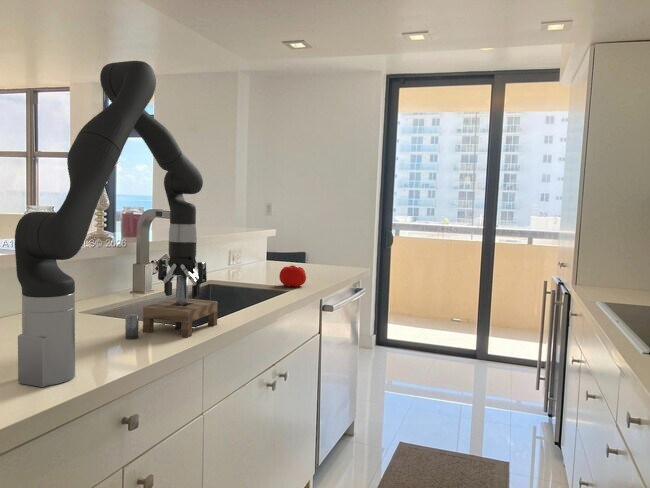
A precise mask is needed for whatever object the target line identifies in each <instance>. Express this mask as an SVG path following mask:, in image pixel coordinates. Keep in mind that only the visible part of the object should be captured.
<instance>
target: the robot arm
mask: <svg viewBox="0 0 650 488" xmlns="http://www.w3.org/2000/svg"><path fill="white" fill-rule="evenodd" d="M99 82H100V85H101V88H102V91H103V93H104V94H105V95H106V97H107V98H108V99H109V101H110V104H109V105H108V106H106V107H105V108H104V109H103V110H102V111H100V112H99V113H98V114H96V115H94V116H93V118H91V119H90V120H89V121H88V122H86V124H85V125H83V127H82V128H81V129H80V130H79V132H78V133H77V136H76V137H75V139H74V141H73V142H72V144H71V147H69V148H70V149H69V150H68V153H67V156H66V157H67V159H66V160H67V161H66V162H67V171H68V177H69V183H70V184H69V189H68V192H67V195H66V196H65V199H64V201H63V203H62V204H61V206H60V208H59V209H58V210H57V211H56V212H54V211H31V212H28V213H25V214H23V216H22V217H20V219H19V220H18V222H17V225H16V227H15V231H14V253H15V254H14V255H15V266H16V267H15V268H16V277H17V280H18V282H19V285H20V287H21V334H18V335H17V379H18V380H17V382H18V384H23V385H28V386H33V387H40V388H44V387H47V386H52V385H58V384H62V383H65V382H68V381H70V380H73V379H74V377H75V376H76V333H75V332H76V323H75V322H76V314H75V313H76V297H75V295H76V292H75V291H76V287H75V286H76V284H75V279H74V278H73V276H71V275H69V274H66V273H65V271H63V270H62V269H61V268H60V267H59V265H58V262H57V261H65V260H70V259H72V258H74V257H75V256H76V255H77V254H79V251H80V250H81V249H82V247H83V245H84V243H85V240H86V237H87V235H88V233H89V230H90V227H91V223H92V220H93V217H94V215H95V211H96V209H97V206H98V204H99V201H100V198H101V197H102V195H103V192H104V190H105V187H106V185H107V183H108V180H109V179H110V176H111V175H112V173H113V171H114V169H115V167H116V165H117V164H118V161H119V159H120V156H121V155H122V152H123V150H124V147H125V146H126V145H125V144H126V143H127V141H128V139H129V138H130V135H131V133H132V131H133V130H134V131H135V132H136V133H137V134H138V135H139V137H140V138H141V139H142V140H143V142H144V143H145V145H146V146H147V148H148V149H149V151H150V152H151V154H152V156H153V158H154V160H155V161H156V163H157V164H158V166H159V167H160V168H161V169H162V170H164V171H165V175H164V179H163V187H164V190H165V195H166V198H167V203H168V205H169V228H168V229H169V231H168V257H169V259H167V258H162V259H161V258H160V259H159V260H158V271H157V279H158V281H162V282H163V284H164V285H163V286H164V287H163V288H164V290H163V293H164V294H165V296H166V297H167V296H168V297H169V296H172V294H173V280H174V278H175V277H177V276H180V275H181V276H187V277H188V280H189V281H190V282H191V284H192V286H191V299H198V298H199V297H200V295H201V294H200V293H201V284H206V283H207V281H208V279H207V277H208V276H207V262H206V261H197V259H196V258H197V239H198V238H197V224H196V223H197V217H196V216H197V209H196V205H195V204H193V203H191V202H188V201H186V200H185V198H184V195H196V194H198V193H200V191H202V188H203V186H204V185H203V184H204V180H203V175H202V174H201V172H200V171H199V169H198V168H197V166H195V165H194V163H193V162H192V161H191V160H190V159H189V158H188V157H187V156H186V155H185V154H184V153H183V151H182V150H181V148H180V146H179V144H178V142H177V140H176V139H175V136H174V135H173V134H172V133H171V132H170V131H169V129H168V128H166V126H164V125H163V124H162V123H161V122H159V121H158V120H156V118H154V117H153V116H152V115H151V114H150V113H149V112H148V111H147V110H146V108H147V107H148V105H149V103H150V102H151V100H152V98H153V96H154V94H155V91H156V86H157V77H156V73H155V71H154V69H153V67H152V66H151V65H150V64H149V63H147V62H145V61H142V60H128V61H127V60H125V61H117V62H115V61H114V62H111V63H107V64H105V65H104V66H103V67H102V68H101V71H100V76H99ZM168 267H169V270H168ZM196 270H197V271H196Z"/></svg>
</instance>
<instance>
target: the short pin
mask: <svg viewBox="0 0 650 488" xmlns="http://www.w3.org/2000/svg"><path fill="white" fill-rule="evenodd" d="M124 319H125V320H124V321H125V326H124V327H125V332H124V333H125V340H137V339H138V338H139V321H140V320H139V314H137V313H129V314H126V315H125V317H124Z"/></svg>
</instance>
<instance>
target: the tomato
mask: <svg viewBox="0 0 650 488" xmlns="http://www.w3.org/2000/svg"><path fill="white" fill-rule="evenodd" d="M278 277H279V281H280V283H281V284H282V285H283V286H285V287H287V286H288V288H293V287H294V288H298V287H300V286H302V285H304V284H305V283H306V281H307V275H306V272H305V269H304V268H303V267H301V266H299V267H298V266H296V265H294V264H293V265H292V264H291V265H288V266H284V267H283V268H281V270H280V272H279V276H278ZM291 286H292V287H291Z"/></svg>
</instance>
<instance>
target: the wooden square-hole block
mask: <svg viewBox="0 0 650 488" xmlns="http://www.w3.org/2000/svg"><path fill="white" fill-rule="evenodd" d="M218 302H219V301H216V300H205V299H198V298H195V299H194V298H188V306H176V297H173V298H170V299H167V300H162V301H159V302H155V303H151V304H148V305H145V306H143V307H142V333H148V334H150V333H153V332H154V331H155V328H154V326H155V325H154V324H155V320H159V321H161V320H162V321H169V322H172V323H173V322H175V321H176V322H181V330H180V331H181V334H180V336H181V338H190V337H192V336H193V322H194V321H196V320H199V319H201V318H204V317H207V326H208V325H209V327H215V326H217V325H218V304H219V303H218Z"/></svg>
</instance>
